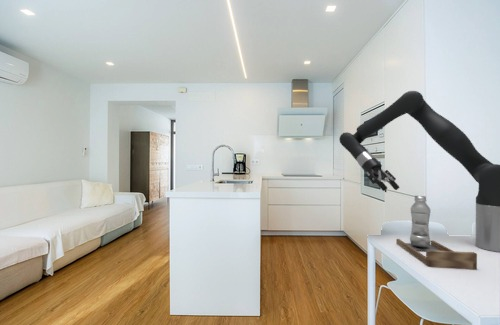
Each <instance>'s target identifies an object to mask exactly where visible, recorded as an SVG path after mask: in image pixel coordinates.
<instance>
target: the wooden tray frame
mask: <svg viewBox="0 0 500 325" xmlns="http://www.w3.org/2000/svg"><path fill="white" fill-rule="evenodd" d="M396 245H398V246H400V247H401V248H402V249H403V250H405V251H406V252H407V253H409V254H411V255H412V256H413V257H414V258H415V259H417V260H419V261H420V262H421V263H422V264H424V265H425V266H427V267H430V268H442V269H443V268H444V269H445V268H446V269H447V268H448V269H463V270H464V269H465V270H477V269H478V267H477V266H478V254H477V253H476V252H474V251H473V252H472V251H455V250H453V249H450V248H449V247H447V246H445V245H443V244H441V243H439V242H437V241H435V240H433V239H430V245H429V246H428V247H426V248H424V247H417V246H414V245H412V244H411V242H409V243H408V242H404V241H403V240H402V239H400V238H396ZM421 252H423V253H424V252H425V253H426V254H422V253H421Z"/></svg>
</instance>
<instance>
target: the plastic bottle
mask: <svg viewBox="0 0 500 325" xmlns="http://www.w3.org/2000/svg"><path fill="white" fill-rule="evenodd" d="M410 214H411V215H410V216H411V231H410V235H409V243H411V244H412V245H414V246H417V247H424V248H426V247H428V246H429V245H431V238H430V233H429V232H430V230H429V229H430V228H429V223H430V217H431V208H430V206H429V205H428V204H427V196H425V195H414V203H412V205H411V206H410Z"/></svg>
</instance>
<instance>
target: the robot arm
mask: <svg viewBox="0 0 500 325" xmlns="http://www.w3.org/2000/svg"><path fill="white" fill-rule="evenodd" d="M406 114H408V116H410V117H411V118H413V119H414V120H415V121H416V122H418V124H420V125H421V127H422V129H424V131H425V132H426V133H427V134H428V136H429V137H430V138H431V139H432V140H433V141H434V142H435V143H436V144H437V145H438V146H439V147H440V148H441V149H443V150H444V151H445V152H446V153H448V155H450V156H451V157H452V158H453V159H455V160H456V161H457V162H459V163H460V164H461V165H462V166H463V167H464V169H465V170H466V171H467V172H468V173H469V175H471V177H472V178H473V180H475V182H477V183H478V191H477V196H476V197H475V244H474V245H475V246H476V247H478V248H480V249H483V250H487V251H492V252H496V253H500V164H494V163H493V162H491V161H490V160H489V159H487V157H484V156H483V155H482V154H481V153H480V152H479V151H478V150H477V149H476V147H475V146H474V144H473V143H472V141H471V140H470V138H469V137H468V136H467V135H466V133H465V132H464V131H462V130H461V129H460V128H459V127H458V126H457V125H455V124H454V123H453V122H451V121H450V120H449V119H448V118H445V117H444V116H443V115H441V114H439V113H438V112H436V111H435V110H434V109H433V108H432V107H431V106H430V105H429V104H428V103H427V101H426V100H425V99H424V96H423V94H422V93H421V92H419V91H417V90H409V91H406V92H405V93H403V94H402V95H401V96H400V97H398V98H397V100H395V101H394V102H393V103H391V105H389V106H388V107H386V108H385V109H384V110H382V111H380V112H379V113H378V114H375V115H374V116H373V117H371V118H370V119H368V120H366V121H364V123H361V124H360V125H359V126H357V127H356V132H354V133H353V134H352V133H350V132H348V131H347V132H343V133H341V134H340V136H339V143H340V144H341V145H342V147H343V148H344V149H345V150H347V152H349V154H350V155H351V156H352V157H353V158H354V160H355V161H356V162H357V164H358V165H359V166H360V167H361V169H362V170H363V171H364V173H365V176H366V177H367V179H368V180H369V181H370V183H371V184H373V185H377V186H378V187H379V188H380V189H381V191H383V192H385V191H387V190H388V186H387V185H386V184H385V183H384V182H387V183H388V184H389V185H390V186H391V187H392V188H393V190H395V191H397V190H399V189H400V186H399V184H398V183H397V182H396V180H397V179H396V177H395V176H394V175H393V174H392V173H391V172H390V171H389V170H388V169H386V170H383V168H382V166H383V165H382V164H381V162H380V161H379V160H378V159H377V158H376V157H375V156H374V155H373V154H372V153H371V152H370V151H369V150H368V149H367V148H366V147H365V146H364V145H362V143H363V142H364V141H365V140H366V139H367V138H369V137H371V136H372V135H373V134H375V133H377V132H379V131H380V130H381V129H383V128H384V127H386V126H387V125H388V124H389V123H391V122H392V121H394V120H396V119H398V118H400V117H401V116H404V115H406Z"/></svg>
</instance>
